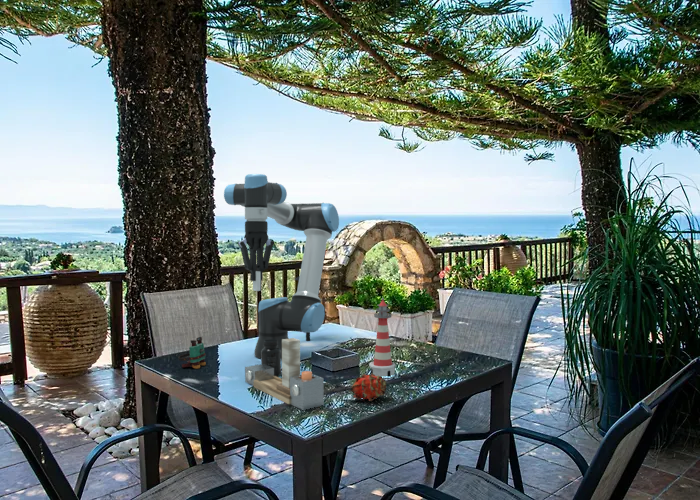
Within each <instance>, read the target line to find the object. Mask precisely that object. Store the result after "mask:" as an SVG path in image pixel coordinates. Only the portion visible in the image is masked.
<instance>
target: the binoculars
mask: <svg viewBox="0 0 700 500" xmlns="http://www.w3.org/2000/svg"><path fill="white" fill-rule="evenodd" d="M190 343H191V345H190V346H189V347H188V348H189V353H188V352H187V353H183V354H181V355H179V356H178V358H177V359H178V361H180V362H182V361H185V362H187V363H182V364H181V368H188V367H192V368H193V369H198V370H199V369H200V368H201V366H206V362H207V361H205V359H206V352H205V345H204V342H203V337H202V336H198V337H197V338H196V339H193V340H190Z"/></svg>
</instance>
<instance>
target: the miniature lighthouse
mask: <svg viewBox="0 0 700 500" xmlns="http://www.w3.org/2000/svg"><path fill="white" fill-rule="evenodd" d="M376 306H378V308H375V312H376V313H373V315H374V318H376V319H377V320H378V322H377V330H376V340H375V349H374V355H373V357H374V358H373V361H371V362H369V364H368V366H369V368H370V375H372V374H371V373H373V374H374V375H375V376H391V375H394V373H396V372H395V370H396V369H395V368H396V364H395V362H393V361H392V352H391V342H390V333H389V324H388V323H389V322H388V319H390V318H392V313H389V312H390V311H391V309H390V308H388V306H389V304H386V302H385V298H384V297H382V298H381V302H380V303H378V304H377V305H376Z"/></svg>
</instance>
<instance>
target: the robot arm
mask: <svg viewBox="0 0 700 500" xmlns="http://www.w3.org/2000/svg"><path fill="white" fill-rule="evenodd" d="M287 196H288V194H287V189H286V187H285V186H284V185H282V184H281V183H277V182H269V181H268V176H267V175H265V174H264V173H263V174H262V173H249V174H246V175H245V176H244V183H231V184H228V185H226V187H225V188H224V191H223V199H224V201H225V202H226V203H227V204H228V205H231V206H242V207H244V220H246V221H245V222H244V233H245V234H244V237H243V238H242V240H240V241H237V245H238V246H239V248H240V252H241V256H242V262H243V266H244V269H245V270H247V271H249V272H250V282H252V291H255V292H259V291H260V292H261V289H262V288H261V284H262V283H261V282H262V281H263V279H264V278H263V275H264V274H263V273H264V271H265V270H268V268H269V264H270V260H271V256H272V250H273V247H274V245H275V243H276V242H275V241H274V240H271V239H270V238H269V236H268V230H269V229H268V221H266V220H268V217H269V218H270V219H273V220H274V221H275V222H276V223H277V224H278V225H281V226H283V227H286V228H288V229H291V230H293V231H299V232H303V234H304V235H305V237H306V238H305V242H304V243H305V244H304V250H303V256H302V261H301V265H300V273H299V276H300V277H299V276H298V277H299V281H298V283H297V290H296V292H295V293H294V294H293V295H292V296H291V301H290V300H289V298H288V297H286V296H284V297H283V296H281V297H273V298H267V299H262V300H260V301H259V303H258V311H257V312H258V338H257V341H256V344H255V348H254V357H255V358H257V359H261V351H262V349H263V348H265V347H264V341H265V340H277V341H278V346H277V347H278V348H279V349H280V350H281V359H282V340H283V339H290V338H289V335H288V334H289V332H297V333H298V332H299V333H300V332H301V333H304V334H306V333H307V332H310V333H316V332H318V330H319V329H320V328H321V326H322V325H323V323H324V320H325V315H326V313H325V306H324V305H323V304H322V300H321V298H320V297H319V293H320V287H321V279H322V273H323V267H324V261H325V255H326V249H327V243H328V241H329V240H330V239H331V238H332V235H333V232H337V230H338V229H339V225H340V218H339V213H338V210H337V208H336V206H335V205H334V204H332V203H329V202H328V203H327V202H325V203H324V202H322V203H321V202H320V203H318V202H317V203H314V202H313V203H290V202H287V201H286V199H287ZM247 246H248V247H247ZM248 250H249V251H248Z"/></svg>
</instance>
